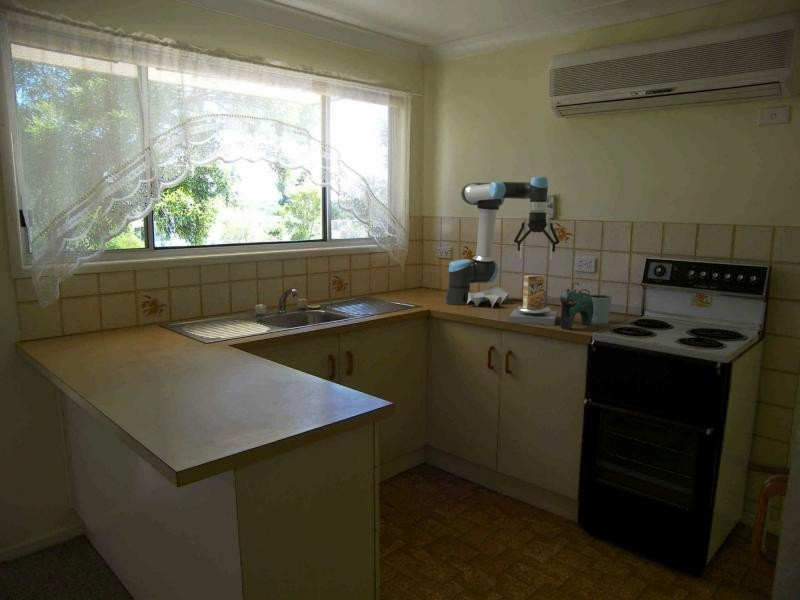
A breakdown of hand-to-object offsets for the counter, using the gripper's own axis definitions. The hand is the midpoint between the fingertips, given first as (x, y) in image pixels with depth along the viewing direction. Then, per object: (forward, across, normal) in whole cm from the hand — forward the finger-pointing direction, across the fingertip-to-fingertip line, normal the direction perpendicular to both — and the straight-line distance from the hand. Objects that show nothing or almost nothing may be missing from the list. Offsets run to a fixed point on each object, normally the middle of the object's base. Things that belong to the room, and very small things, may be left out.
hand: (535, 258), depth 266 cm
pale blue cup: (+29, +29, +6) cm, 41 cm away
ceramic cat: (+29, +19, -10) cm, 36 cm away
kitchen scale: (+29, 0, 0) cm, 29 cm away
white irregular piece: (+29, -27, +37) cm, 54 cm away
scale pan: (+25, 0, 0) cm, 25 cm away
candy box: (+23, 0, 0) cm, 23 cm away
